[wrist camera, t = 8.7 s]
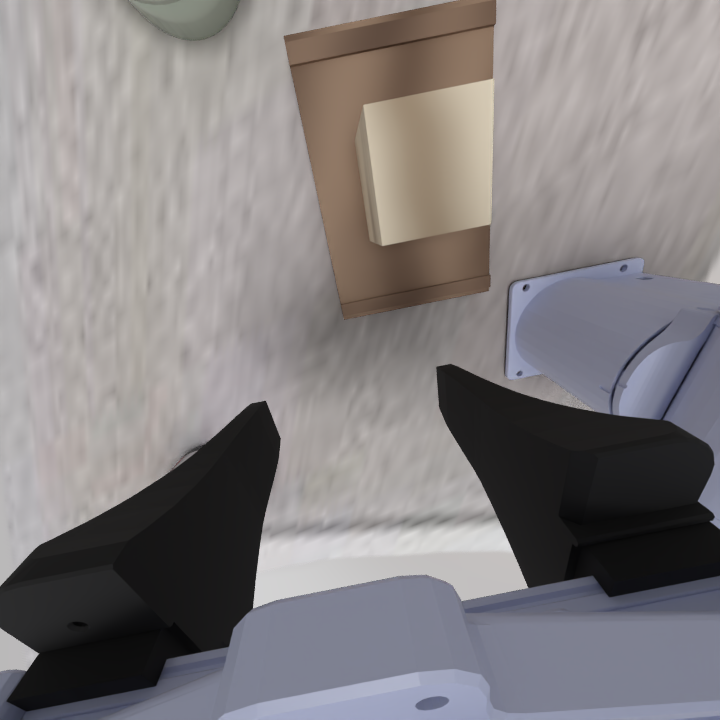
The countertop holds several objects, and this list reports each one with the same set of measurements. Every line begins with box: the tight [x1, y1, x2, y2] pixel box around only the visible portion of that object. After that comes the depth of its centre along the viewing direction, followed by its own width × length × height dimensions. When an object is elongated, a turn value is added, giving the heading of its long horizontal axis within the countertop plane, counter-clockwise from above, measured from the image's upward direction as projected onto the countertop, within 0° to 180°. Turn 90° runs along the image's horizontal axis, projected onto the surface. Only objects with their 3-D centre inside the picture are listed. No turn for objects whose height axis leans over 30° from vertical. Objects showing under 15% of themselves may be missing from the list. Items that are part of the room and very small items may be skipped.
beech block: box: [355, 79, 494, 246], centre depth 14 cm, size 5×5×5 cm
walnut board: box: [284, 0, 496, 320], centre depth 17 cm, size 10×14×1 cm
